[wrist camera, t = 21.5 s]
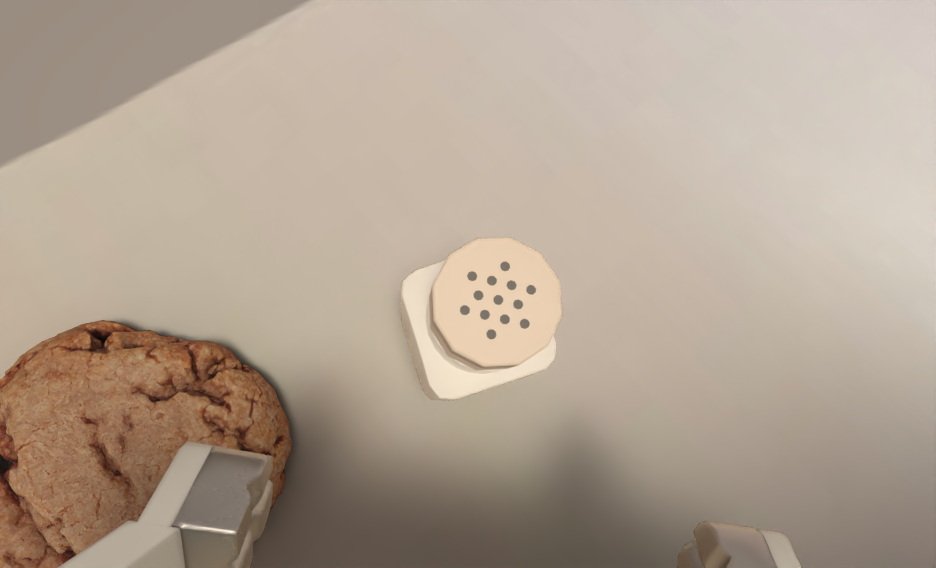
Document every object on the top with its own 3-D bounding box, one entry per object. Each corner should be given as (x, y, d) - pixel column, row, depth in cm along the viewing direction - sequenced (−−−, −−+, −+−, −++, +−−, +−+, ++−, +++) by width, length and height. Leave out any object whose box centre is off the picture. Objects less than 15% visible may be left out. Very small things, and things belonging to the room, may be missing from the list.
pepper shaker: (491, 278, 24) (548, 200, 14) (523, 373, 23) (603, 355, 14) (396, 307, 23) (392, 244, 14) (426, 405, 22) (443, 408, 13)
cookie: (324, 537, 21) (312, 559, 18) (12, 654, 19) (-57, 699, 17) (251, 281, 23) (228, 263, 20) (-45, 369, 21) (-117, 364, 18)
